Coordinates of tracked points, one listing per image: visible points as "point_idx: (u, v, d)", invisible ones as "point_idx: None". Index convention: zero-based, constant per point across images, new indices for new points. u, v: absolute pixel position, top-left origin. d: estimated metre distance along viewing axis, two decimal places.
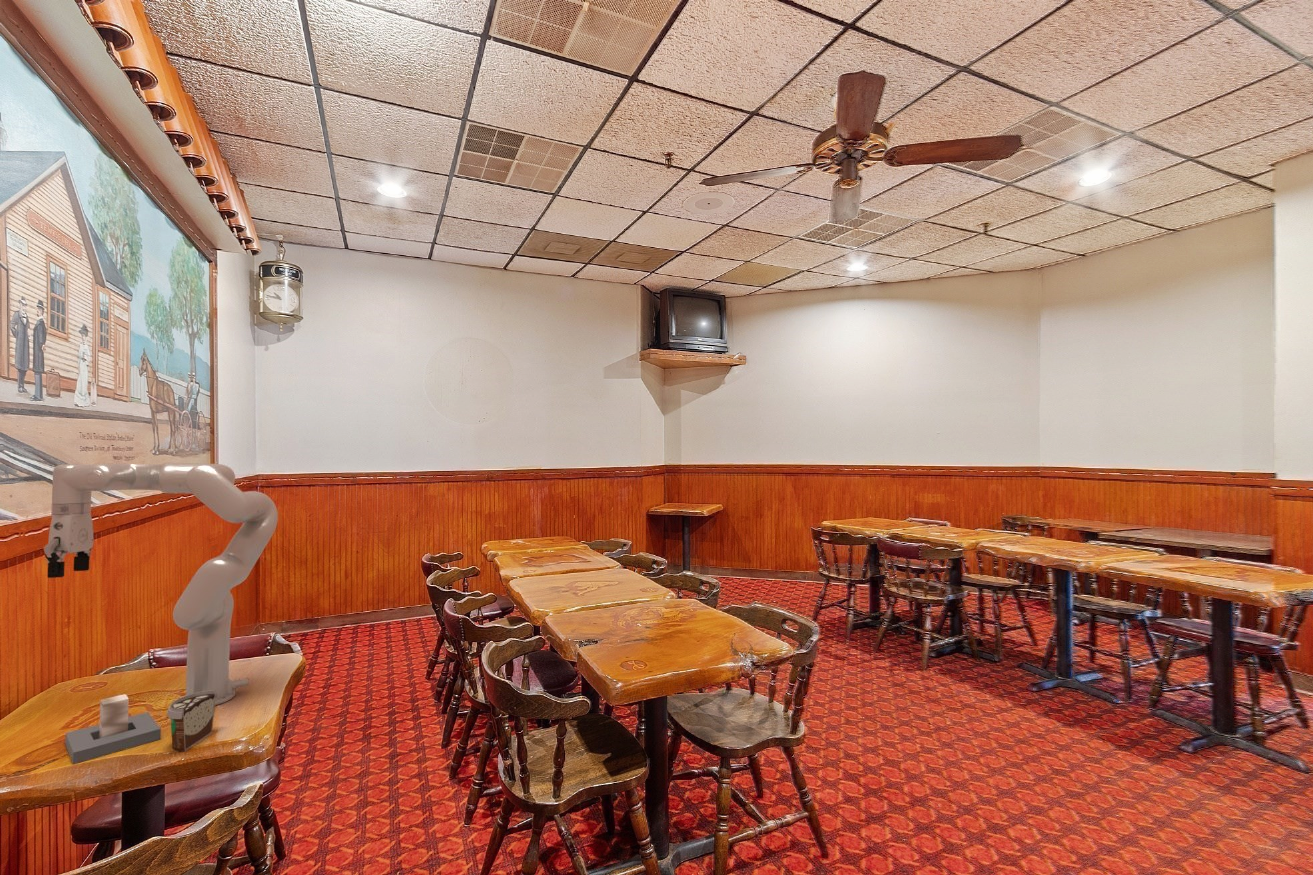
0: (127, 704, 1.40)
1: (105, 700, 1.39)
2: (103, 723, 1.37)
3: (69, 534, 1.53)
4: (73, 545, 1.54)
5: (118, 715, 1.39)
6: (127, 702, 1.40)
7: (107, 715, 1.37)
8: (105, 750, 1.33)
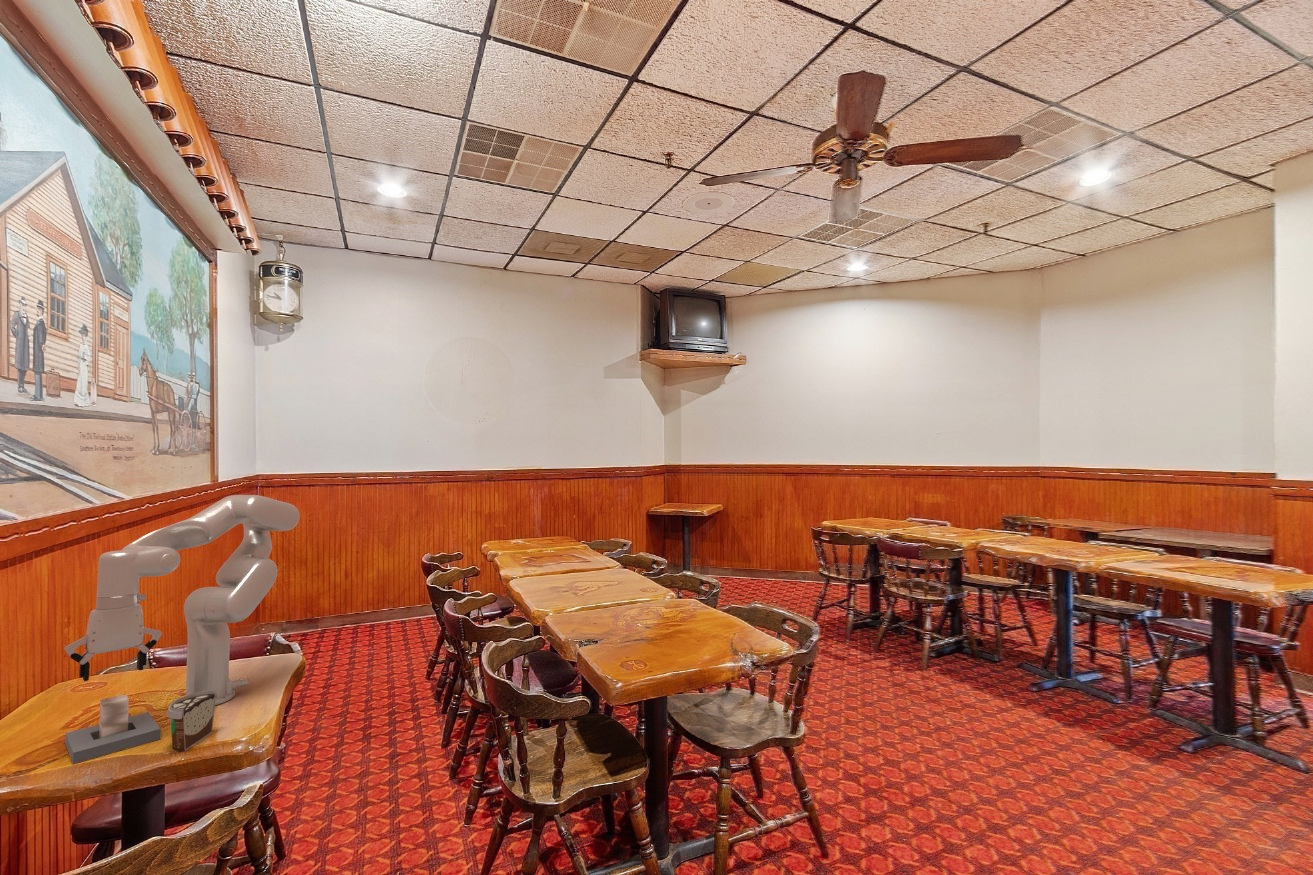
0: (127, 704, 1.40)
1: (105, 700, 1.39)
2: (103, 723, 1.37)
3: None
4: None
5: (119, 715, 1.39)
6: (127, 702, 1.40)
7: (107, 715, 1.37)
8: (105, 750, 1.33)
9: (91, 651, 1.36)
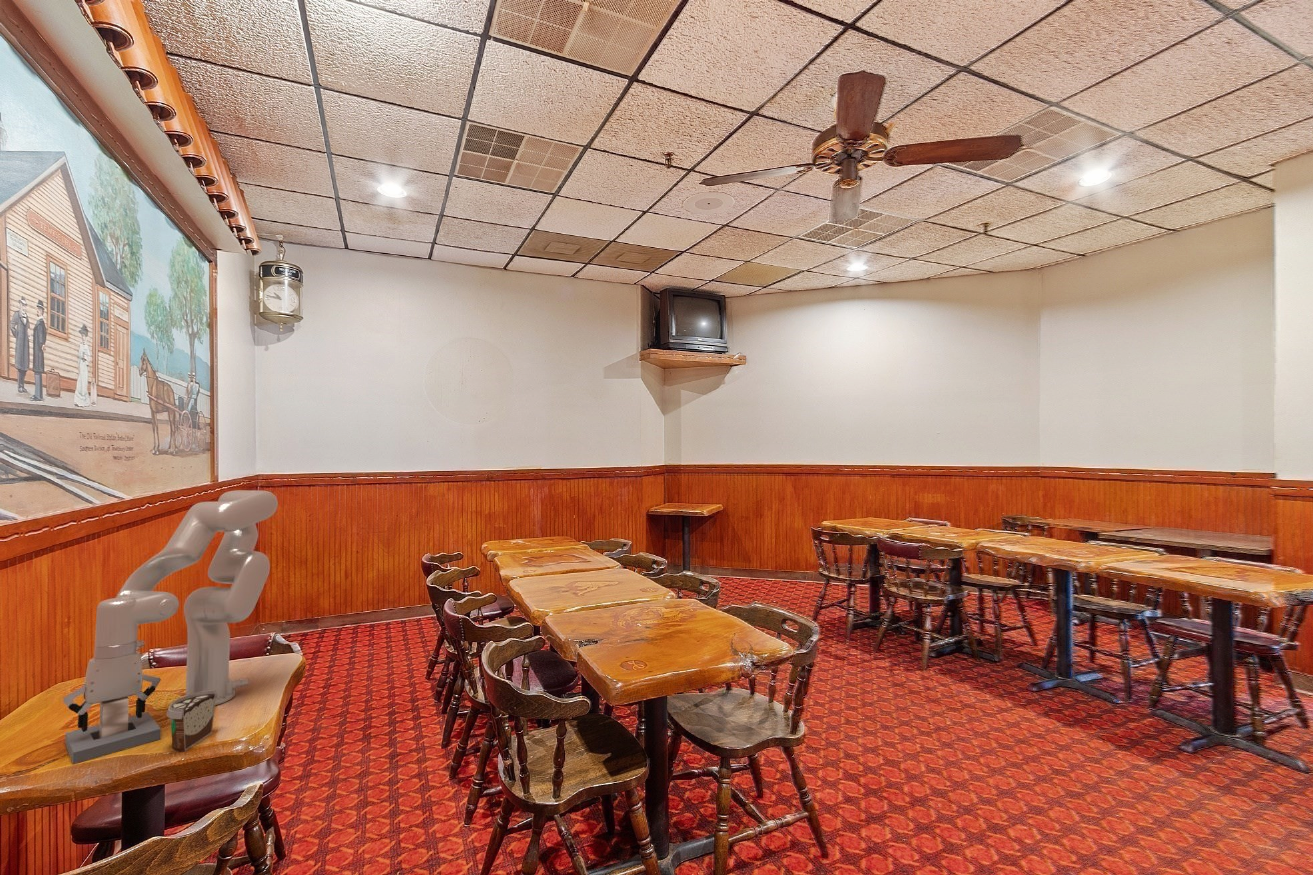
0: (127, 704, 1.40)
1: None
2: (103, 723, 1.37)
3: None
4: None
5: (119, 715, 1.39)
6: (127, 702, 1.40)
7: (107, 715, 1.37)
8: (105, 750, 1.33)
9: (89, 701, 1.35)
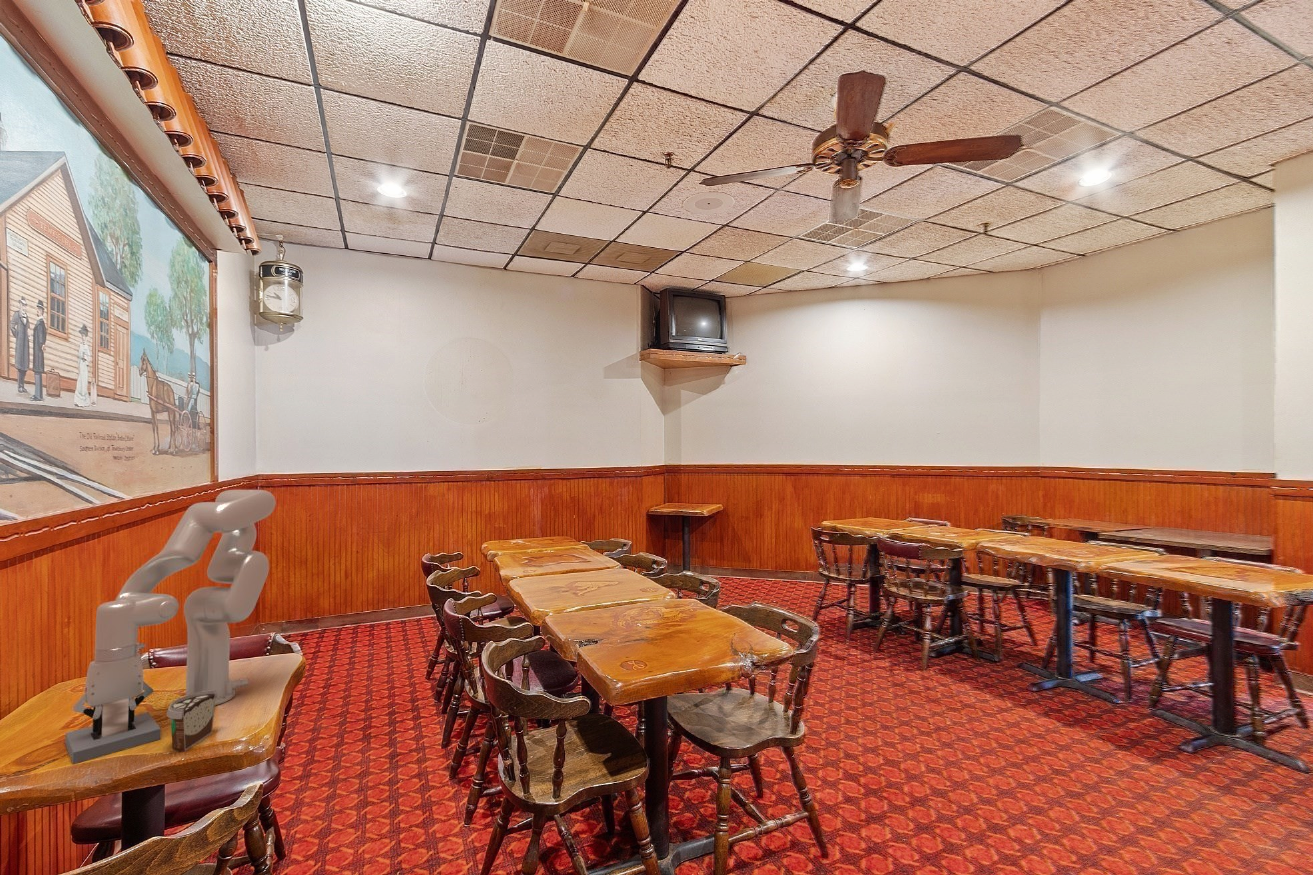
0: (127, 704, 1.40)
1: None
2: (103, 723, 1.37)
3: None
4: None
5: (118, 715, 1.39)
6: (127, 702, 1.40)
7: (107, 715, 1.37)
8: (105, 750, 1.33)
9: (91, 704, 1.35)
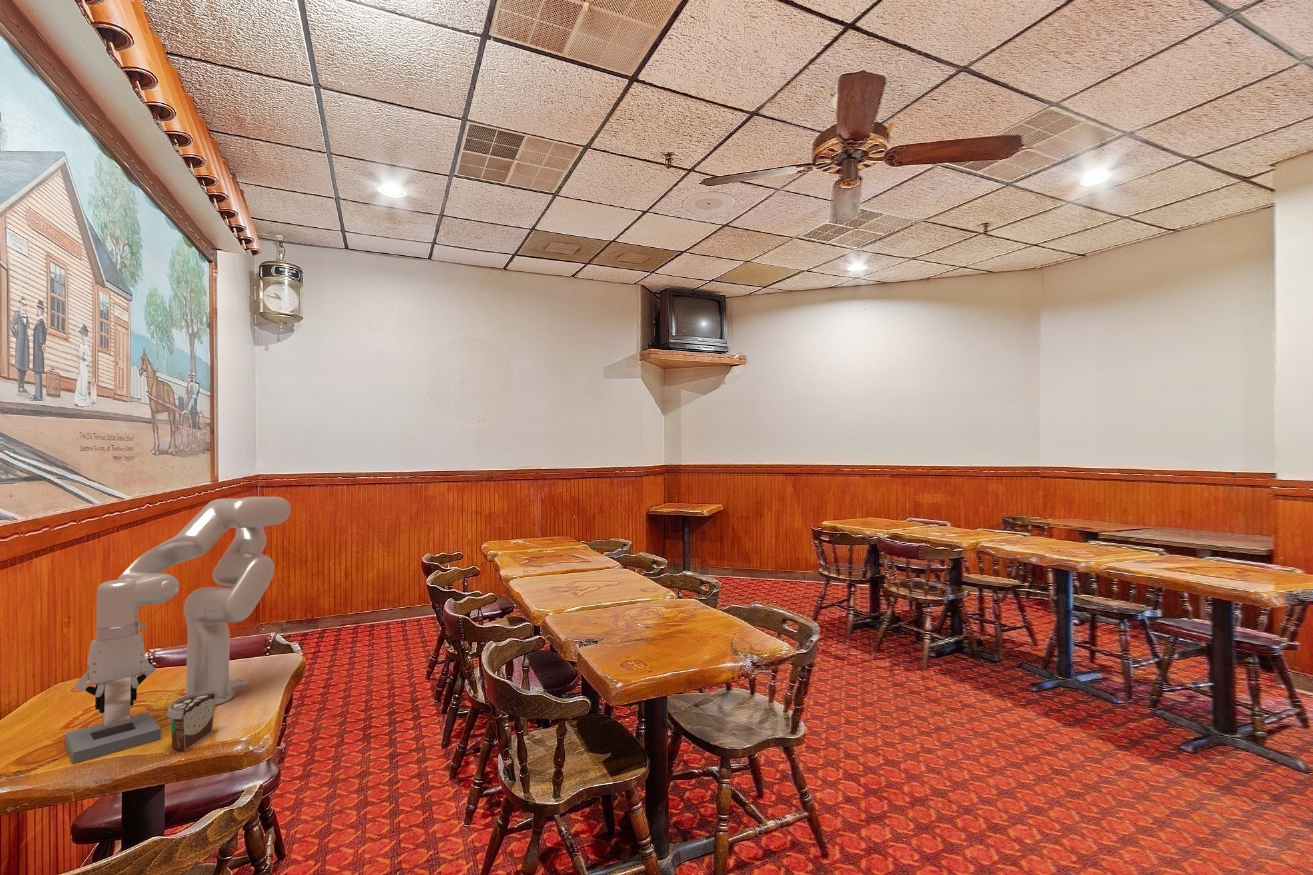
0: (129, 682, 1.40)
1: None
2: (105, 701, 1.37)
3: None
4: None
5: (121, 693, 1.39)
6: (129, 680, 1.40)
7: (109, 693, 1.38)
8: (105, 750, 1.33)
9: (93, 682, 1.36)
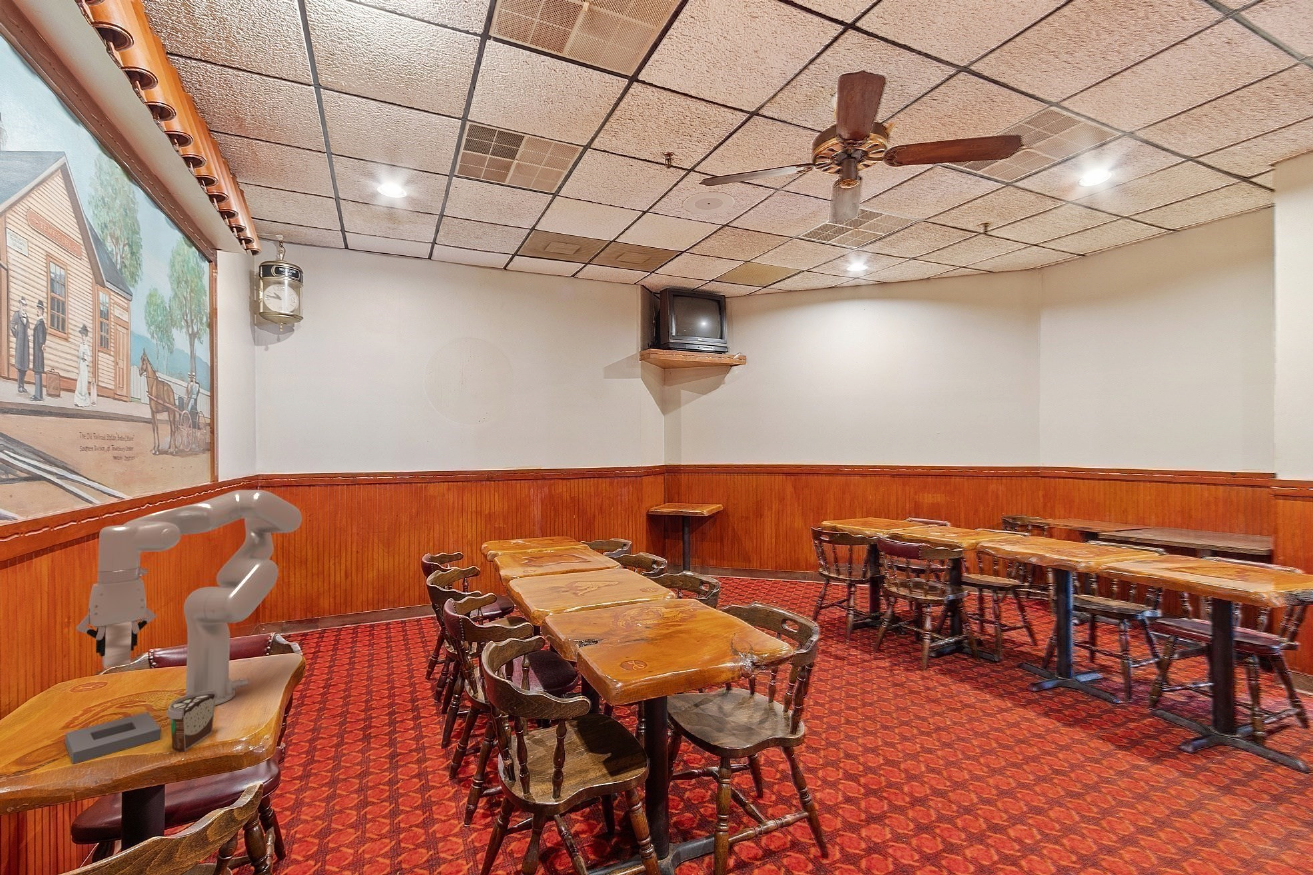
0: (130, 627, 1.41)
1: None
2: (106, 644, 1.38)
3: None
4: None
5: (122, 637, 1.40)
6: (130, 625, 1.41)
7: (110, 636, 1.38)
8: (105, 750, 1.33)
9: (94, 624, 1.36)
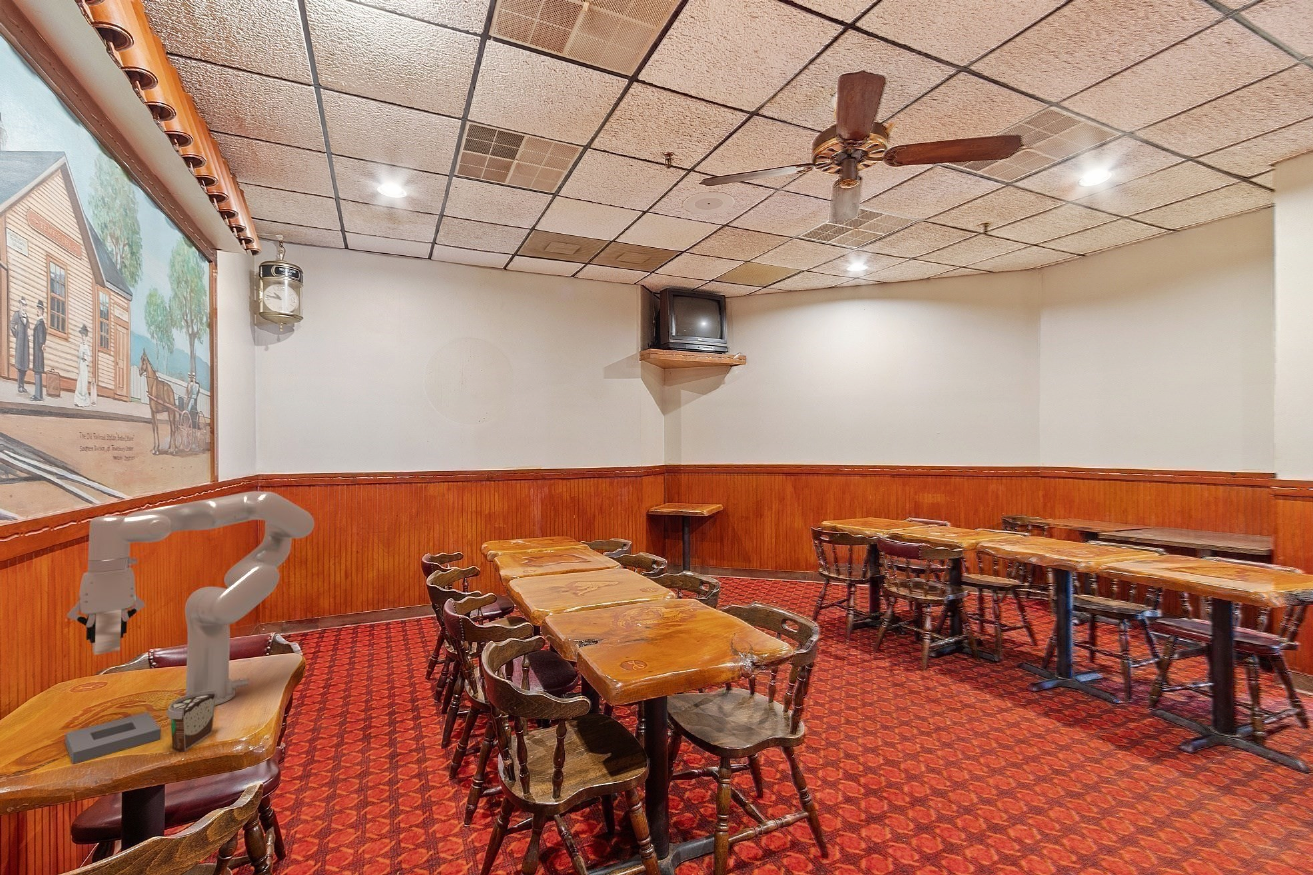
0: (120, 615, 1.45)
1: None
2: (96, 631, 1.41)
3: None
4: None
5: (111, 625, 1.43)
6: (120, 613, 1.45)
7: (100, 623, 1.42)
8: (105, 750, 1.33)
9: (84, 612, 1.40)
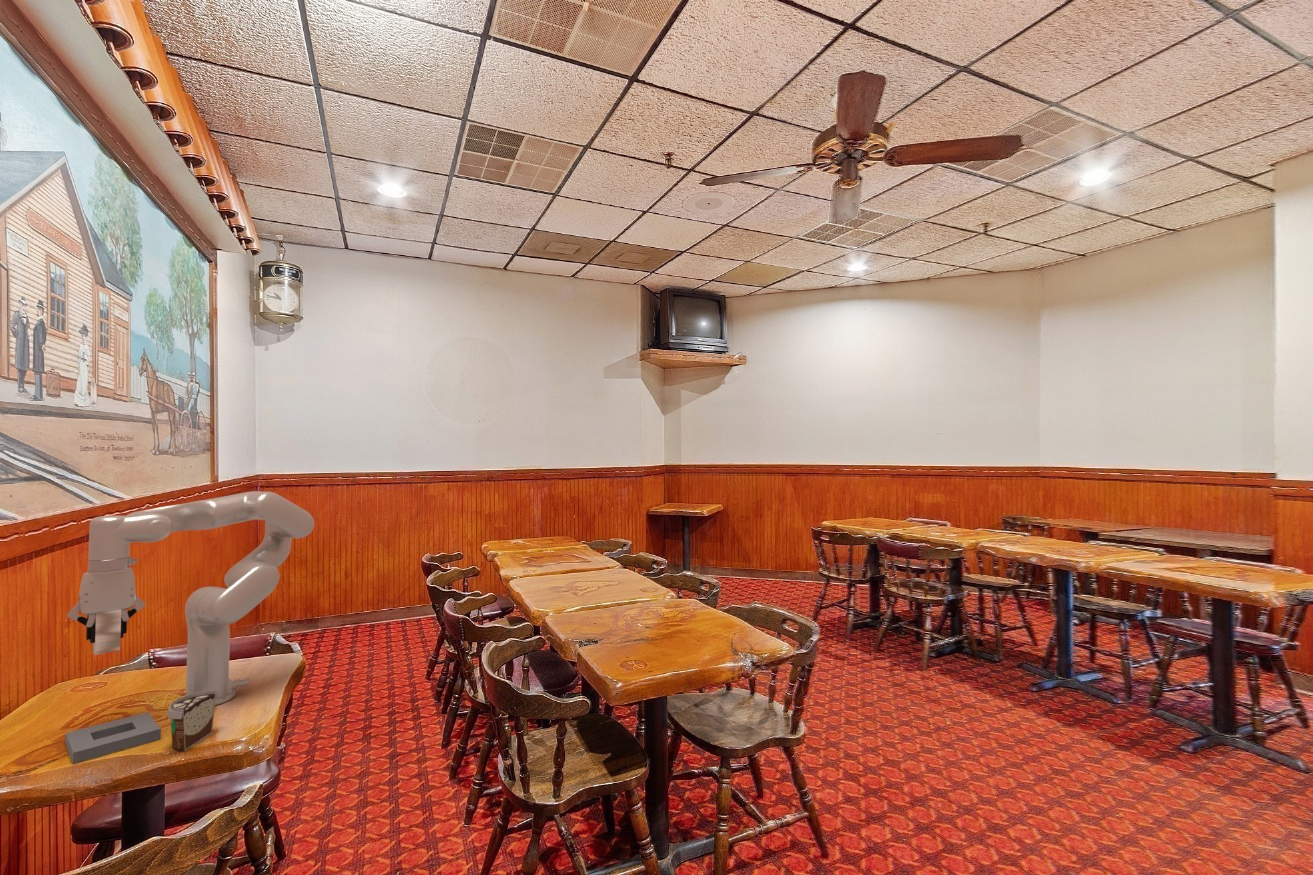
0: (120, 615, 1.45)
1: None
2: (96, 631, 1.41)
3: None
4: None
5: (111, 625, 1.43)
6: (120, 613, 1.45)
7: (100, 623, 1.42)
8: (105, 750, 1.33)
9: (84, 612, 1.40)
